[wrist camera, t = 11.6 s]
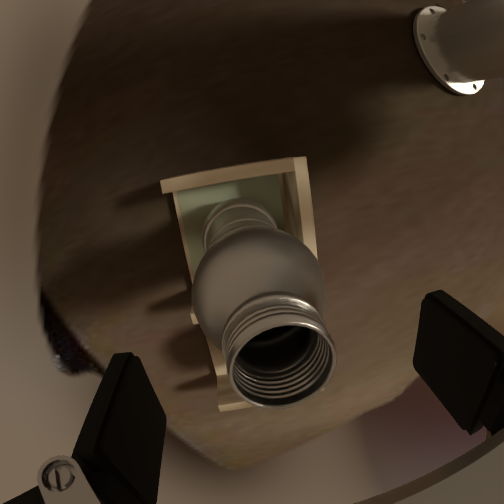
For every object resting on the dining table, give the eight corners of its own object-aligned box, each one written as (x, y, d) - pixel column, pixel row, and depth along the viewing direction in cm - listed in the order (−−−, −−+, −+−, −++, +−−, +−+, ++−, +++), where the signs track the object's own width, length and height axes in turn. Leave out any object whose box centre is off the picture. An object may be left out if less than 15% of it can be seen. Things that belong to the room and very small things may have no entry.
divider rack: (171, 176, 27) (160, 180, 21) (288, 157, 28) (305, 156, 22) (218, 377, 34) (220, 411, 28) (309, 359, 34) (324, 390, 29)
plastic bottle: (213, 272, 29) (217, 449, 10) (194, 204, 27) (146, 303, 8) (279, 255, 29) (375, 405, 10) (263, 186, 27) (371, 244, 8)
